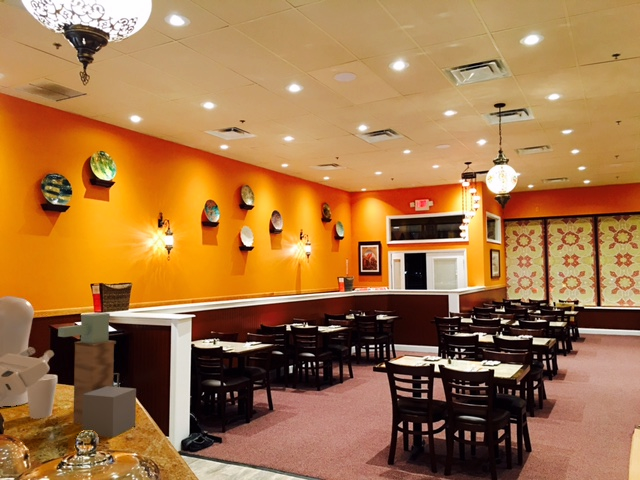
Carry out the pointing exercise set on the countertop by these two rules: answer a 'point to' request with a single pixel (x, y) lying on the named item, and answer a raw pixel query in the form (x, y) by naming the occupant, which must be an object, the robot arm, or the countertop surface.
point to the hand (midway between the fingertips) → (42, 350)
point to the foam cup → (42, 396)
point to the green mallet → (89, 328)
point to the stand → (91, 371)
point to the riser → (109, 410)
